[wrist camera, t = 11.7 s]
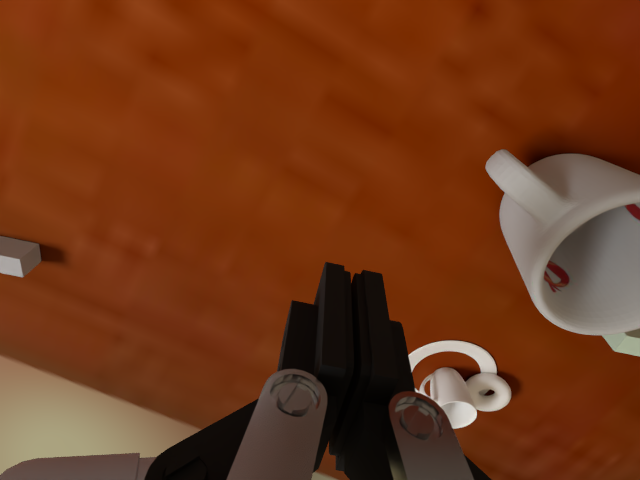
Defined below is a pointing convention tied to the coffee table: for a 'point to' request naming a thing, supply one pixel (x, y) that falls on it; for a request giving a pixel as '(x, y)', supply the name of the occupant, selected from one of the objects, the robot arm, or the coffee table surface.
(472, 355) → the white curved piece
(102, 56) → the coffee table surface
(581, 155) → the cup
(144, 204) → the coffee table surface
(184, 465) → the robot arm
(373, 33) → the coffee table surface
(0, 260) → the grey u-frame
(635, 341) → the mint green u-frame
